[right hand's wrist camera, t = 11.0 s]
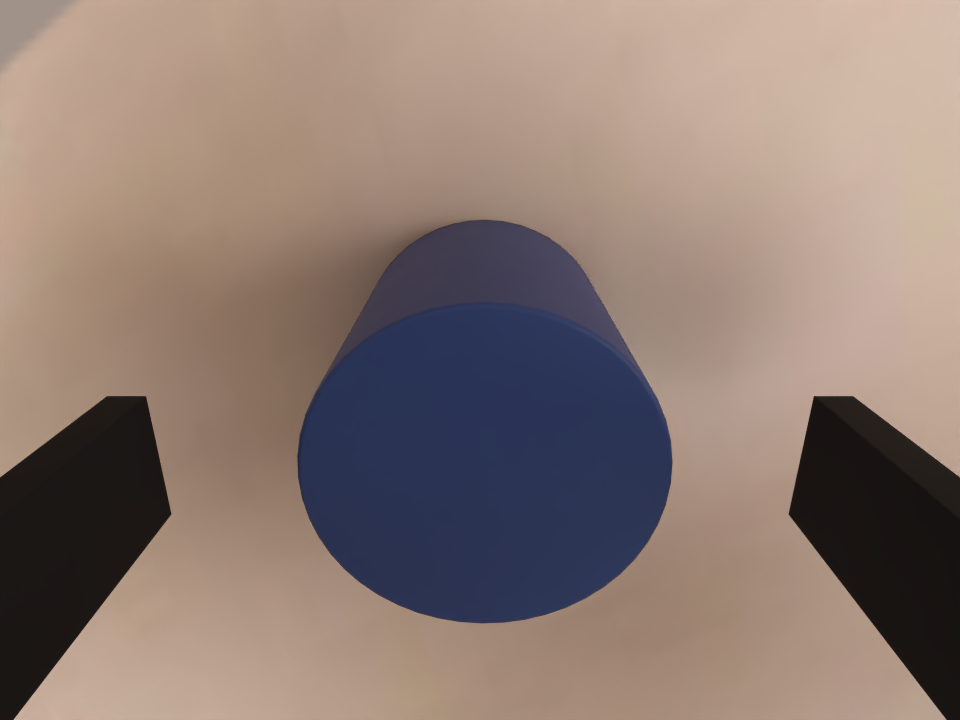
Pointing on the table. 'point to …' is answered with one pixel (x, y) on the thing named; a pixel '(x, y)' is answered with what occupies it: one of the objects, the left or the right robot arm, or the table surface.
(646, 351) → the table surface
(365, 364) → the can
